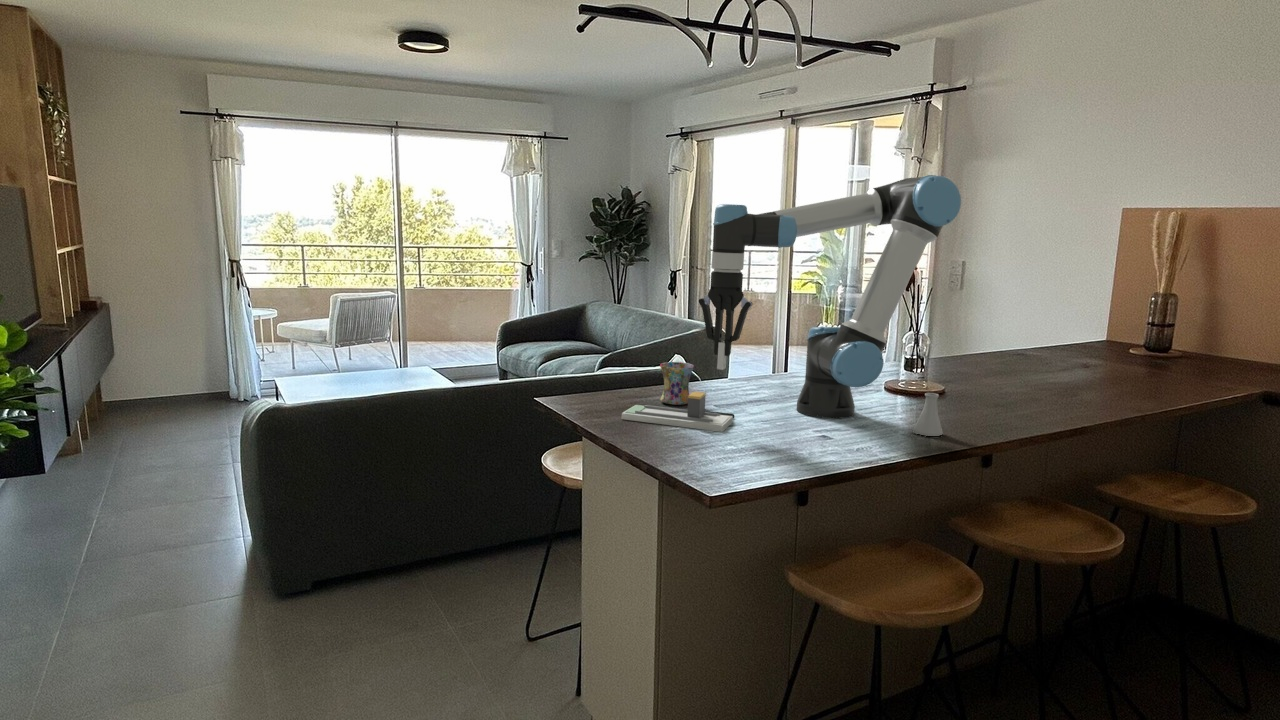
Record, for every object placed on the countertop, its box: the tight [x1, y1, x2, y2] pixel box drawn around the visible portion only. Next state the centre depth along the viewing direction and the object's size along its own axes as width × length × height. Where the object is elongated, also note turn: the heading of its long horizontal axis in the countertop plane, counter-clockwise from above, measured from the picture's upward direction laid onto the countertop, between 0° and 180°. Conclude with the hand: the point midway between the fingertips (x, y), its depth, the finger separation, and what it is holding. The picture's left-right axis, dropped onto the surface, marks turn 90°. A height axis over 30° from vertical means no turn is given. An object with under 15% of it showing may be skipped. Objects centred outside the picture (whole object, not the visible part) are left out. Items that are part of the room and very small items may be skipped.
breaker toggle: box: [687, 391, 707, 418], centre depth 190 cm, size 3×5×6 cm, turn 159°
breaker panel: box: [621, 404, 734, 433], centre depth 192 cm, size 26×10×2 cm, turn 69°
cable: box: [657, 405, 735, 419], centre depth 199 cm, size 23×1×1 cm, turn 73°
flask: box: [912, 392, 944, 437], centre depth 186 cm, size 7×7×10 cm
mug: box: [659, 361, 695, 406], centre depth 212 cm, size 12×9×11 cm
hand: (721, 368), depth 186 cm, fingers closed
